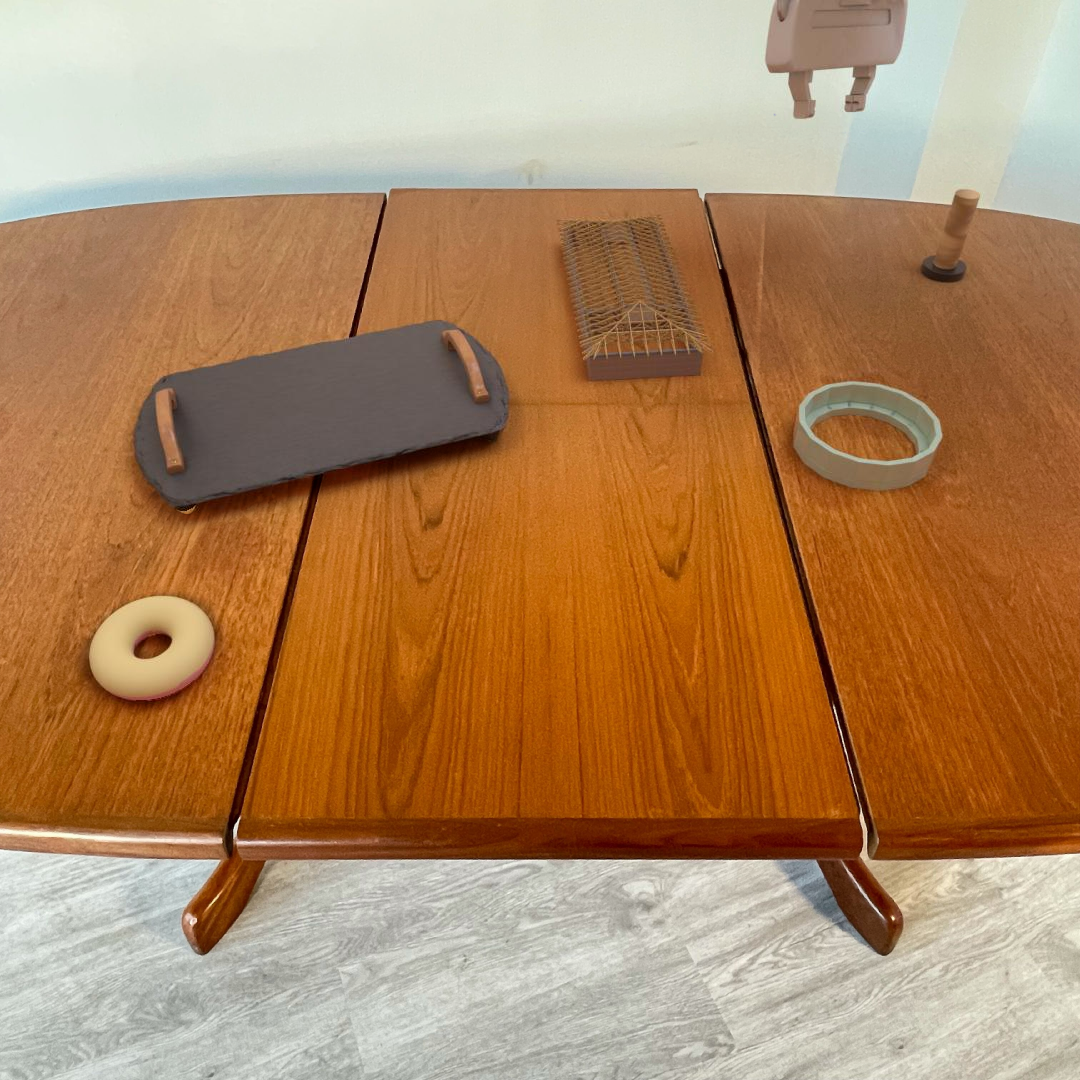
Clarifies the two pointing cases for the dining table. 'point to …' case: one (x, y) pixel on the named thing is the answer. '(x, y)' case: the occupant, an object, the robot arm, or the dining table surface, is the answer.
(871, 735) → the dining table surface
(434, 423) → the serving tray
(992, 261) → the dining table surface
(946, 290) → the dining table surface
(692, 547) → the dining table surface
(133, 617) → the donut
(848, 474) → the pale green band ring
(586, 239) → the rafter model
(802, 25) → the robot arm
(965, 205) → the wooden peg with base
